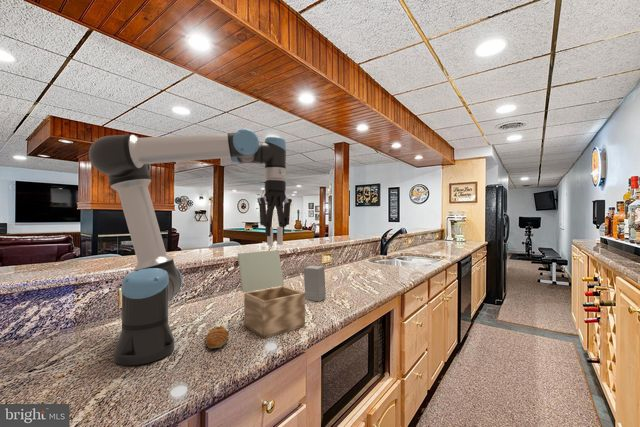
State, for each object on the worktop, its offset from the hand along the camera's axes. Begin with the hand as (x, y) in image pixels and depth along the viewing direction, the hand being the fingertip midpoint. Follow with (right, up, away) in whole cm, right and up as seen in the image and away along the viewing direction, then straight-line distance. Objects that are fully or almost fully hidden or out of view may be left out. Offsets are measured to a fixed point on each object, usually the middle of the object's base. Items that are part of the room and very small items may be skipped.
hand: (275, 244), depth 108 cm
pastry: (-18, -30, -18) cm, 39 cm away
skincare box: (+14, -30, +34) cm, 48 cm away
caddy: (0, -30, 0) cm, 30 cm away
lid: (-6, -10, +7) cm, 14 cm away
